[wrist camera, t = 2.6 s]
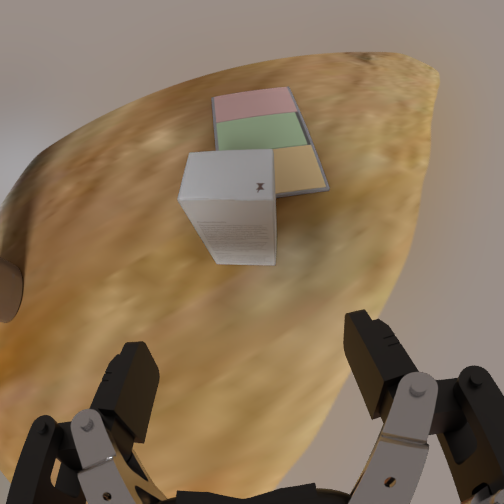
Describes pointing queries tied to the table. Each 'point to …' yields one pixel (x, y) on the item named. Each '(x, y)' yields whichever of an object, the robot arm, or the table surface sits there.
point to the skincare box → (232, 204)
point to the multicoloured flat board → (271, 136)
